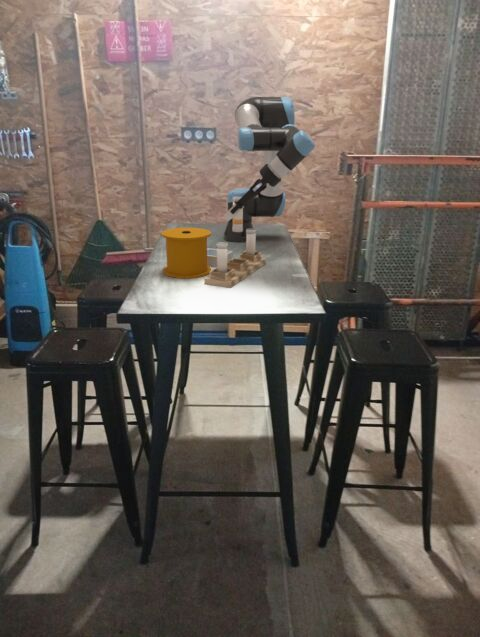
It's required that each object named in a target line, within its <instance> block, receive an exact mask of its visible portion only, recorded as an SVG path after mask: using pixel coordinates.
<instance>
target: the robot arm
mask: <svg viewBox="0 0 480 637" xmlns="http://www.w3.org/2000/svg"><path fill="white" fill-rule="evenodd" d="M295 118H296V117H295V106H294V103H293V99H292V98H290V97H284V96H252V97H250V98H247V99H245V100H243V101H241V103H239V104H238V105H237V107H236V109H235V111H234V120H235V123H236V124H237V126H238V127H239V129H238V134H237V142H238V143H237V146H238V149H239V150H240V151H247V152H263V159H262V167H261V168H260V170H259V175H260V176H261V178H257V179H256V180H255V182H254V183H253V184H252V185H251V186H250V187H248V188H247V187H244V188H237V189H233V190H230V191H229V192H228V194H227V201H226V202H227V211H226V212H225V213H224V214H223V215H222V217H223V218H224V219H225V220H226V226H225V230H224V233H223V239H224V240H225V241H227V242H233V243H246V229H248V228H253V229H254V226H253V218H274V217H275V218H276V217H281V216H282V215H283V214H284V210H285V207H286V201H287V200H286V193H285V191H283V190H284V189H283V188H282V186H281V181H282V179H285V177H286V176H290V175H291V171H293V170H294V169H295V168H296V167H297V166H298V165H299V164H300V163H301V162H302V161H303V160H304V159H306V157H307V156H309V155H310V154H311V152H312V151H313V150H314V149H315V146H316V145H315V142H314V141H313V139H312V138H311V137H310V136H309V135H308V133H307V132H306V131H304V130H300V129H299V128H298V127H297V126H296V125H295V122H296V121H295V120H296V119H295ZM235 196H241V197H242V198H241V199H240V200H239V201H237V202H236V201H235V202H234V203H235V205H234V206H233V197H235ZM242 207H243V232H233V231H232V227H233V217H234V216H235V215H236V214H237V213H238V212H239V211H240V210H241V209H242Z"/></svg>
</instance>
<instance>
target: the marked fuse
mask: <svg viewBox="0 0 480 637" xmlns="http://www.w3.org/2000/svg"><path fill="white" fill-rule="evenodd" d="M241 198H242V197H241V196H235V197H233V206H234V205H235V203H234V202H235V201H236V202H237V201H239V200H240V199H241ZM232 231H233V232H243V207H242V209H241V210H240V211H239V212H238V213H237V214H236V215H235V216H234V217H233V227H232Z"/></svg>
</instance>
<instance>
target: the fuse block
mask: <svg viewBox="0 0 480 637" xmlns="http://www.w3.org/2000/svg"><path fill="white" fill-rule="evenodd" d="M266 262H267V259H266V258H265V257H264V258H262V252H261V251H255V256H252V255H246V250H245V251H242V252H241V253H240V254H239V257H238V258H234V257H233V258H232V259H231V260H229V261H227V273H219V272H217V267H215V268H213V269H211V271H210V272H209V274H208V275H207V276H206V277H204V285H209V284H210V285H209V286H215V285H216V286H217V287H222V288H223V287H224V288H232V287H234V286H236V285H237V284H239V283H240V282H241V281H243V280H245V278H248V276H250V275H251V274H252V273H254V272H256V271H257V270H259V269H260V268H261V267H263V266H264V265H266Z"/></svg>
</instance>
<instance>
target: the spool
mask: <svg viewBox="0 0 480 637" xmlns="http://www.w3.org/2000/svg"><path fill="white" fill-rule="evenodd" d="M211 235H212V232H211V231H210V230H208V229H206V228H200V227H174V228H169V229H164V230H163V231H161V236H162V237H163V238H164V239H165V247H166V248H165V251H166V266H165V267H164V268H163V269H162V270H163V274H164V275H165V276H166V277H170V278H174V277H175V278H174V279H198V278H203V277H205V276H206V277H207V276H209V272H210V271H211V270H212V267H211V266H207V249H208V238H209V237H211Z"/></svg>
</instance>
